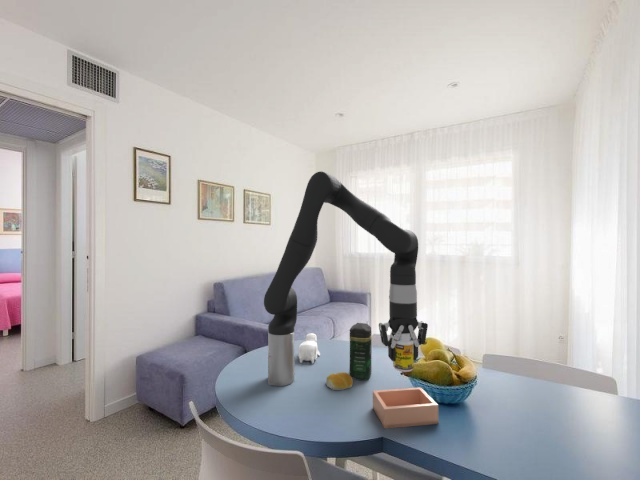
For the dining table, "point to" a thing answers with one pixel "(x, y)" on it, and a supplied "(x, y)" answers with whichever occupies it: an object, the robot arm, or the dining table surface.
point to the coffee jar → (360, 351)
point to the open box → (405, 407)
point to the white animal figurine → (309, 349)
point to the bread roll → (339, 381)
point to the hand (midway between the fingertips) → (403, 359)
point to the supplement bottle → (404, 353)
